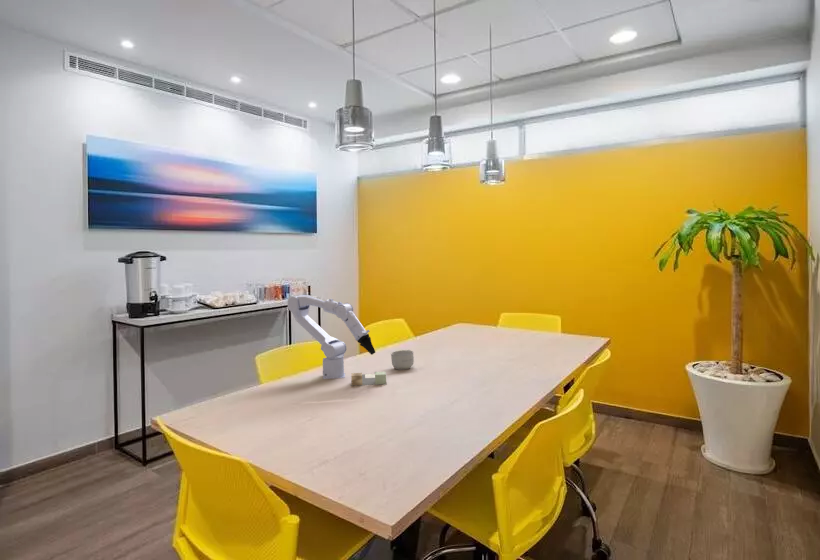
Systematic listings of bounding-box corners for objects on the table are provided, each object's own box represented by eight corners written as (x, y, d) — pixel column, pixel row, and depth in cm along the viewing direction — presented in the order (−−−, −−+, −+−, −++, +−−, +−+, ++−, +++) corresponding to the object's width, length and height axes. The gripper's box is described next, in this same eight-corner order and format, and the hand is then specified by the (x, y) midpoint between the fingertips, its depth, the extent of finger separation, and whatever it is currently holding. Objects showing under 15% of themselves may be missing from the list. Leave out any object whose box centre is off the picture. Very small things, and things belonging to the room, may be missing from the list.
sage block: (375, 384, 199) (375, 374, 199) (375, 381, 204) (374, 372, 203) (386, 383, 200) (386, 374, 199) (385, 380, 204) (385, 371, 204)
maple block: (351, 385, 198) (351, 376, 198) (351, 382, 203) (351, 373, 202) (362, 384, 199) (362, 375, 198) (362, 381, 203) (362, 372, 203)
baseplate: (351, 387, 197) (351, 385, 197) (351, 376, 214) (351, 374, 214) (386, 385, 199) (386, 383, 199) (384, 374, 216) (384, 373, 216)
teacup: (404, 372, 218) (404, 355, 217) (386, 369, 225) (386, 352, 224) (422, 366, 229) (421, 350, 229) (404, 363, 236) (404, 347, 235)
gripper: (361, 318, 201) (379, 344, 197) (364, 324, 214) (381, 349, 211) (347, 328, 199) (365, 354, 196) (351, 333, 213) (368, 358, 210)
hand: (373, 352), depth 204 cm, fingers open, 7 cm apart
